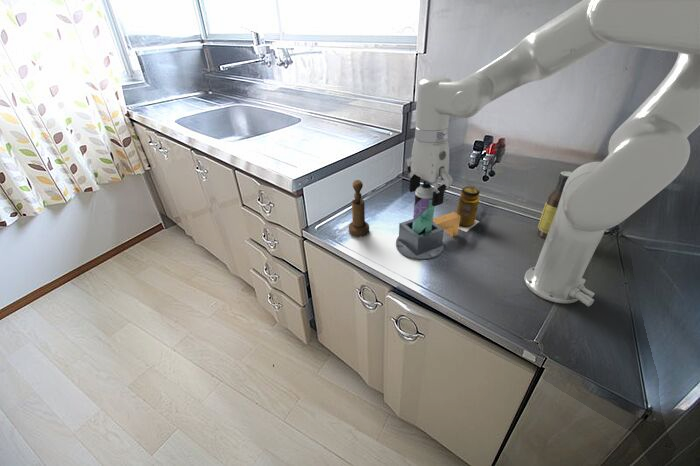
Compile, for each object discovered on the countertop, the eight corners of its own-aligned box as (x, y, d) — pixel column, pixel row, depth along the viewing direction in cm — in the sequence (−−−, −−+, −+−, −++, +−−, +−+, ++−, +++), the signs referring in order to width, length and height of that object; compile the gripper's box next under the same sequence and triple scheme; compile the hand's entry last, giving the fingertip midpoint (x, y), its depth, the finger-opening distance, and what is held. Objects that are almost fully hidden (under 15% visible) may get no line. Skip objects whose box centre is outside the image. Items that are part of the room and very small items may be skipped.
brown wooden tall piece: (346, 235, 101) (343, 184, 91) (352, 225, 106) (349, 175, 96) (366, 238, 99) (365, 186, 89) (371, 227, 105) (371, 177, 94)
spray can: (419, 235, 98) (425, 175, 87) (433, 243, 94) (441, 181, 83) (407, 243, 95) (411, 181, 84) (421, 251, 91) (428, 188, 80)
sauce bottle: (562, 241, 94) (587, 179, 83) (539, 240, 95) (561, 178, 84) (554, 229, 99) (577, 169, 88) (532, 228, 100) (552, 169, 89)
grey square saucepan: (470, 244, 95) (474, 224, 91) (414, 266, 87) (416, 245, 84) (439, 222, 105) (441, 204, 101) (387, 240, 98) (387, 221, 94)
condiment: (479, 222, 105) (486, 189, 98) (466, 232, 100) (472, 198, 93) (459, 214, 109) (465, 182, 103) (446, 224, 105) (451, 191, 98)
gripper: (469, 140, 71) (458, 206, 81) (421, 123, 84) (417, 182, 94) (443, 146, 69) (435, 214, 78) (397, 128, 82) (395, 189, 91)
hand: (425, 197), depth 86 cm, fingers open, 9 cm apart
